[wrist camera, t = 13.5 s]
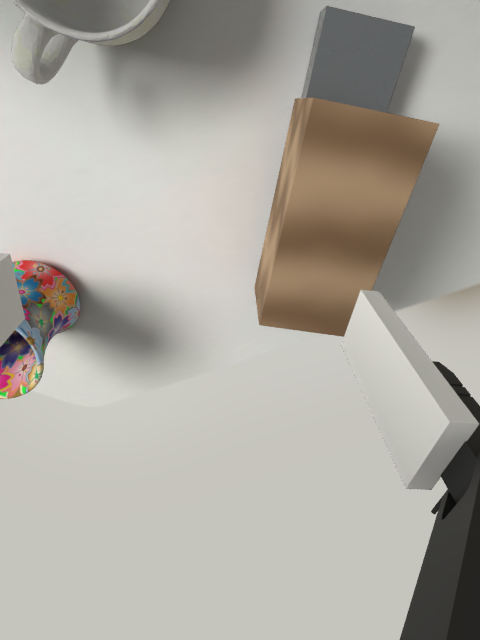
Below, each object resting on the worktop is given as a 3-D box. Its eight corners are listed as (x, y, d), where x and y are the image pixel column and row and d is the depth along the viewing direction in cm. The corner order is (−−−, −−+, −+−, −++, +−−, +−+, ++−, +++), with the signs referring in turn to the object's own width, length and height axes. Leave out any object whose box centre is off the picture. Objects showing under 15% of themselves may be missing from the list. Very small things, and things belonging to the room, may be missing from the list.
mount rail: (320, 12, 26) (336, -4, 22) (403, 31, 26) (433, 19, 22) (260, 283, 37) (264, 304, 33) (319, 292, 38) (329, 314, 34)
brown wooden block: (295, 98, 27) (313, 97, 21) (394, 119, 28) (439, 123, 22) (254, 287, 35) (259, 325, 29) (332, 298, 36) (352, 337, 30)
